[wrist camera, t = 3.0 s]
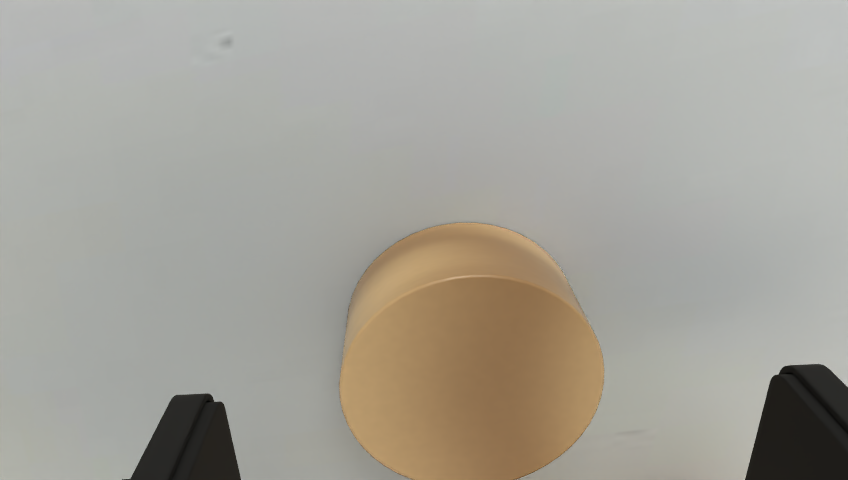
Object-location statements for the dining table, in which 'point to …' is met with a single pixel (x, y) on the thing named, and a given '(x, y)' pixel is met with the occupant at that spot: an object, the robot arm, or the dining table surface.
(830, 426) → the robot arm
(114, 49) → the dining table surface
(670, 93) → the dining table surface
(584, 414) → the lid
